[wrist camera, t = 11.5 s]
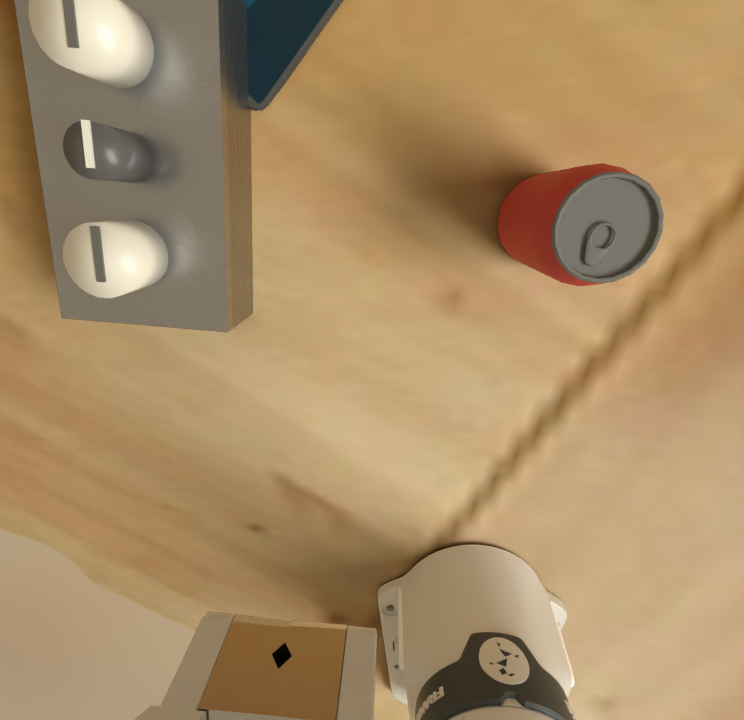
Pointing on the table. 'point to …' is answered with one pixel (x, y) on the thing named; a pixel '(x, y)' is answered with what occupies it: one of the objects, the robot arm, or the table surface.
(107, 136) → the pot dial
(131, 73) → the knob
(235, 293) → the console
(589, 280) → the beer can
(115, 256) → the knob
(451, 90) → the table surface
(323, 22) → the smartphone
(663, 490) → the table surface
